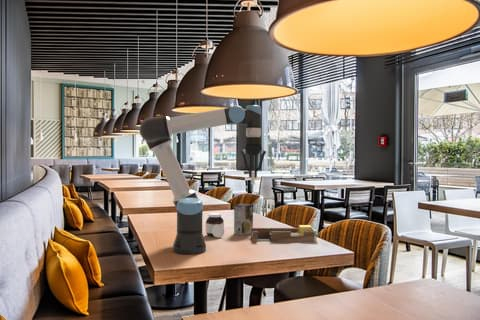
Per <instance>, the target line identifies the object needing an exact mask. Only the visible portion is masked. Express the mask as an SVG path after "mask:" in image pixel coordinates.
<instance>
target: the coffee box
mask: <svg viewBox="0 0 480 320" xmlns="http://www.w3.org/2000/svg"><path fill="white" fill-rule="evenodd" d="M233 209H234V210H233V233H234V235H238V236H244V235H245V236H246V235H251V228H254V205H253V204H250V203H240V204H234V207H233Z"/></svg>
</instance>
